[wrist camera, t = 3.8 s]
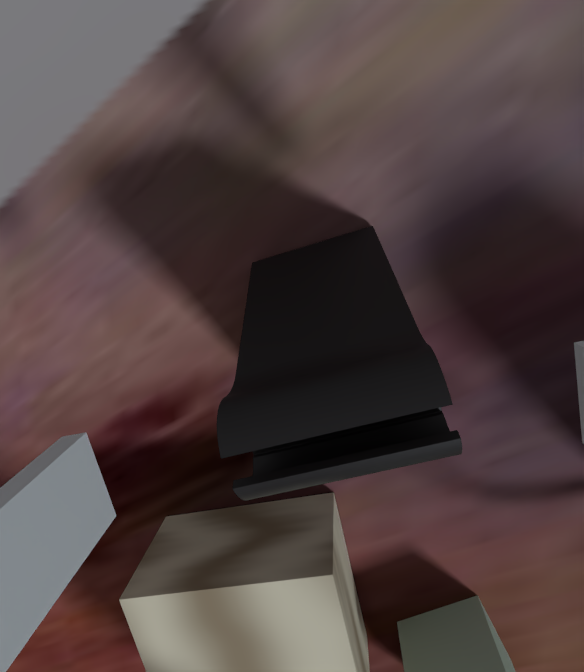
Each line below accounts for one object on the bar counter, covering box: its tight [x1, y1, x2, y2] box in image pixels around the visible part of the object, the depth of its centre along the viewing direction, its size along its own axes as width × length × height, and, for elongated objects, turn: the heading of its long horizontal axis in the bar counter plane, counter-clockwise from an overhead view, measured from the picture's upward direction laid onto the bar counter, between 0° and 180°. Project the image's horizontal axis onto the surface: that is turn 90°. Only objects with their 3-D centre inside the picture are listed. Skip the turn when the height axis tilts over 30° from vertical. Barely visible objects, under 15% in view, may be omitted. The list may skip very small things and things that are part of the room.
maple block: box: [119, 492, 370, 672], centre depth 24 cm, size 10×10×6 cm
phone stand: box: [217, 226, 462, 501], centre depth 17 cm, size 9×6×12 cm, turn 17°
